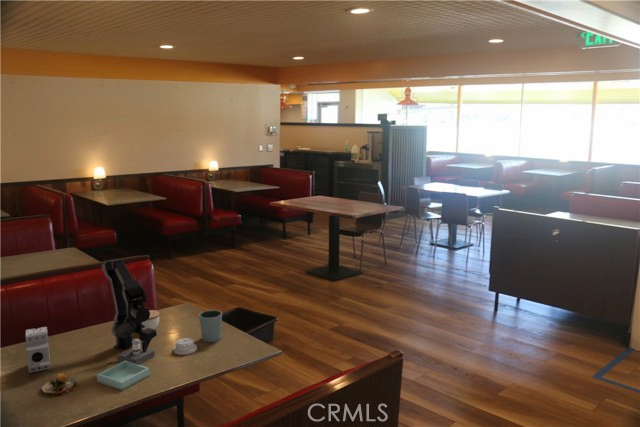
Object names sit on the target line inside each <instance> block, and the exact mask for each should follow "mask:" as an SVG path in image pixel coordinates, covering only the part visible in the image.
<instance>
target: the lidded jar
mask: <svg viewBox="0 0 640 427" xmlns="http://www.w3.org/2000/svg"><path fill="white" fill-rule="evenodd" d="M148 310H149V312H150V317H149V319H148V320H147V321H145V322H142V325H145V328H142V330H146V329H148V328H150V329H154V330H156V329H157V327H158V326H159V323H160V312H159V311H158V310H154V309H148Z"/></svg>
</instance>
